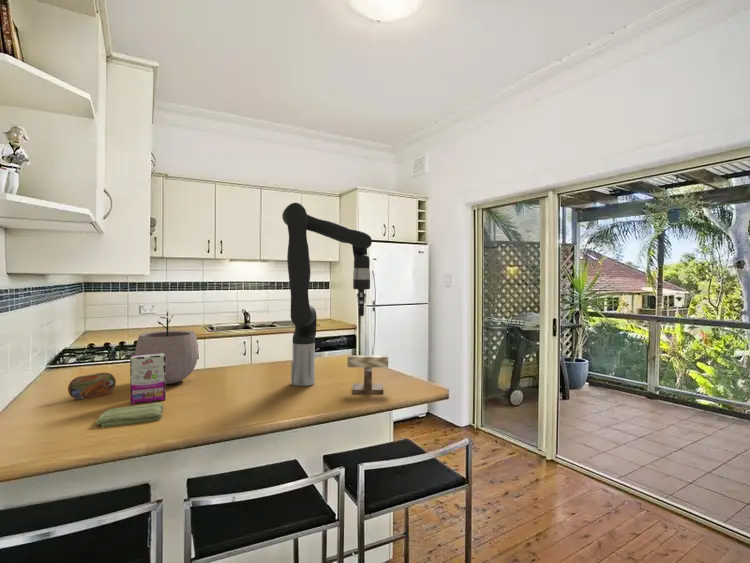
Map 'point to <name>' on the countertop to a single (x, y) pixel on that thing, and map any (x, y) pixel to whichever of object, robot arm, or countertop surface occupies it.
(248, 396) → the countertop surface
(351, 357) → the pale gold metallic bar
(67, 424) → the countertop surface
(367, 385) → the balance stand
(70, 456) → the countertop surface
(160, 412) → the washcloth
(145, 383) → the candy bar box
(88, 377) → the tin
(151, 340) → the plant pot
